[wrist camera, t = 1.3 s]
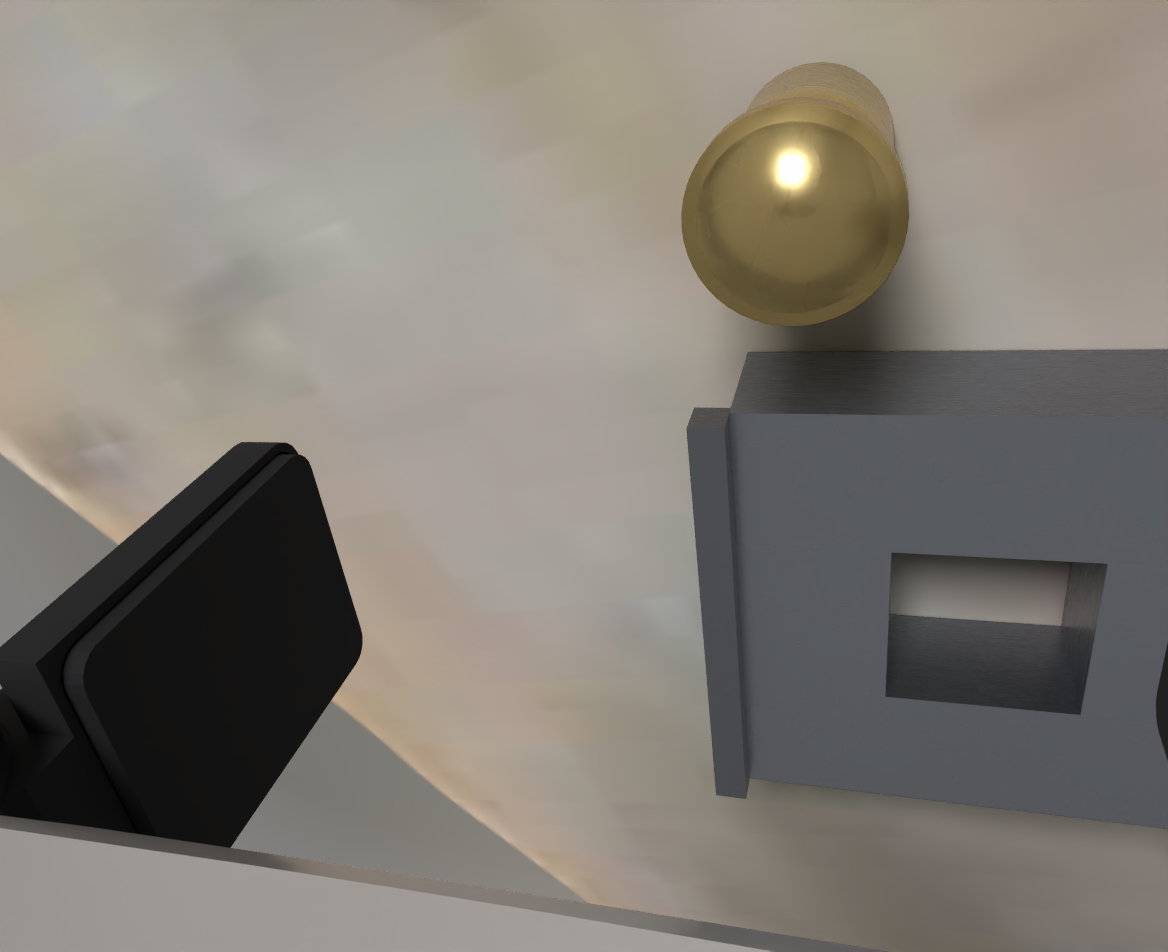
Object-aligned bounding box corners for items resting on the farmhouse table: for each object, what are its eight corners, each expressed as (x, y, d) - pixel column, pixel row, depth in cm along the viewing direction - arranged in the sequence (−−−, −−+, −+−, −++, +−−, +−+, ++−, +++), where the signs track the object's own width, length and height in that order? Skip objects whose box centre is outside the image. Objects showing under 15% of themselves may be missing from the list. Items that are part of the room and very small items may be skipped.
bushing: (724, 58, 25) (673, 114, 19) (909, 41, 24) (914, 95, 18) (732, 232, 27) (689, 327, 22) (902, 224, 26) (903, 324, 20)
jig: (715, 352, 29) (686, 428, 25) (1334, 348, 25) (1417, 440, 21) (736, 693, 36) (716, 795, 32) (1222, 740, 32) (1269, 865, 28)
